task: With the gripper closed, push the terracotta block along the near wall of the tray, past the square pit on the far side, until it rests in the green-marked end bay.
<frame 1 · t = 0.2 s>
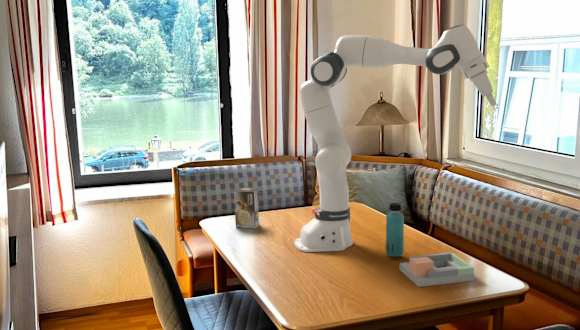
hand: (493, 104, 202), 54 cm above the table, tool tilted 30°, fingers open, 8 cm apart
coffee box: (247, 226, 253), on the table
tray: (435, 275, 195), on the table
beverage bottle: (394, 258, 212), on the table
block: (421, 273, 190), point 2 cm above the table, touching tray
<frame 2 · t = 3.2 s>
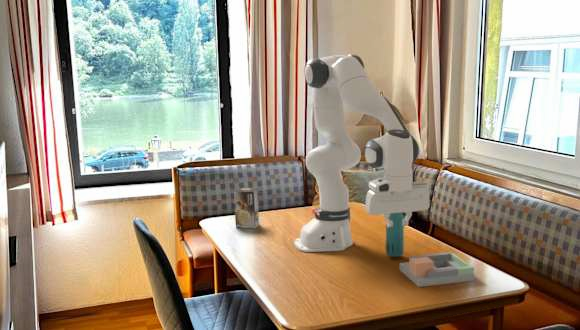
hand: (397, 225, 185), 19 cm above the table, tool pointing down, fingers open, 4 cm apart
nothing on the table moved.
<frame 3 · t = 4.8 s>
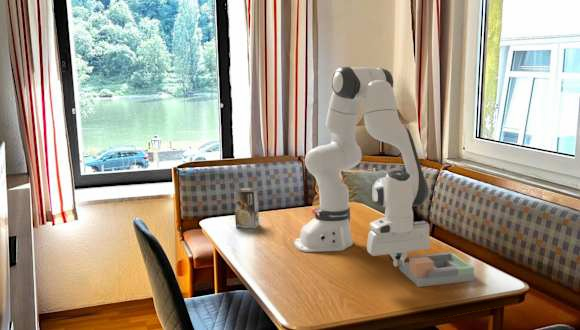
hand: (398, 265, 187), 6 cm above the table, tool pointing down, fingers closed
nothing on the table moved.
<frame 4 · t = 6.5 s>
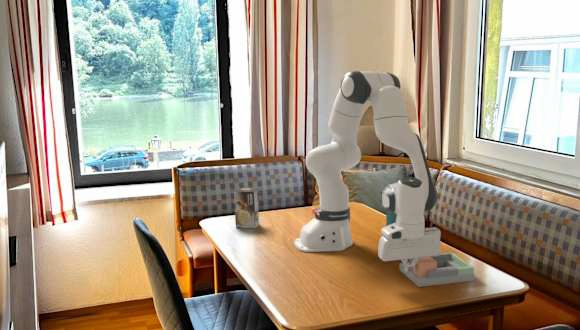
hand: (409, 270, 189), 4 cm above the table, tool pointing down, fingers closed
block: (424, 273, 190), point 2 cm above the table, touching gripper
everything else where it was.
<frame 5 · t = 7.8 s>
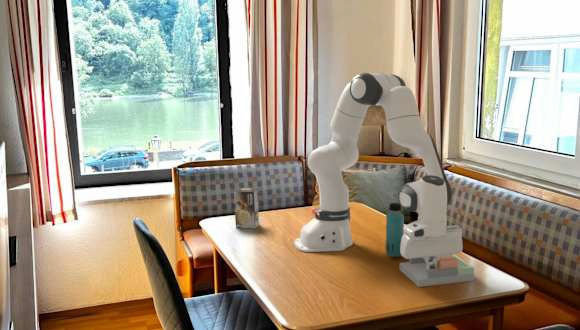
hand: (431, 268, 190), 4 cm above the table, tool pointing down, fingers closed
block: (445, 271, 192), point 2 cm above the table, touching tray, gripper
everything else where it was.
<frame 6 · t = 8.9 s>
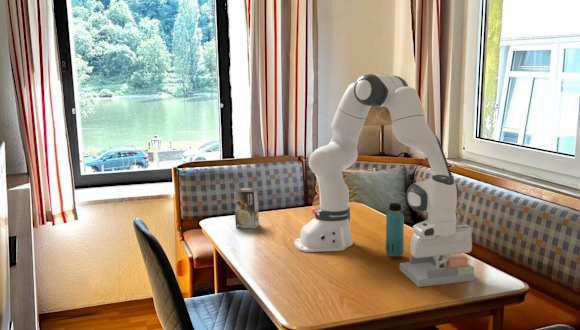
hand: (440, 267, 191), 4 cm above the table, tool pointing down, fingers closed
block: (454, 269, 192), point 2 cm above the table, touching tray, gripper
everything else where it was.
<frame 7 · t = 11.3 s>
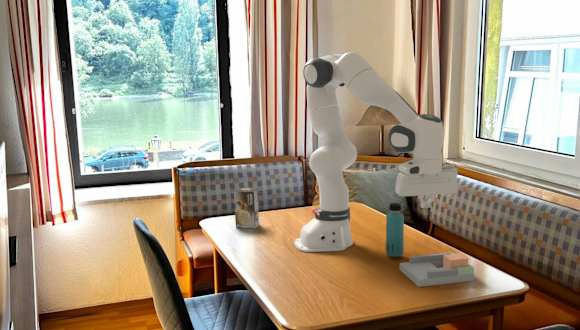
hand: (425, 207, 191), 23 cm above the table, tool pointing down, fingers closed
block: (454, 269, 192), point 2 cm above the table, touching tray
everything else where it was.
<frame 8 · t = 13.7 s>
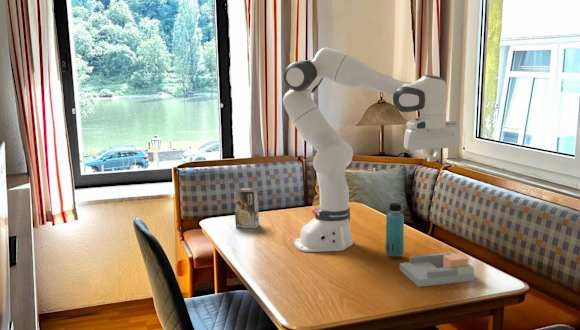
hand: (431, 161, 209), 34 cm above the table, tool pointing down, fingers closed
nothing on the table moved.
at the end: block 0.3 cm from the target spot, point 2.4 cm above the table; block tilted 0° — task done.
